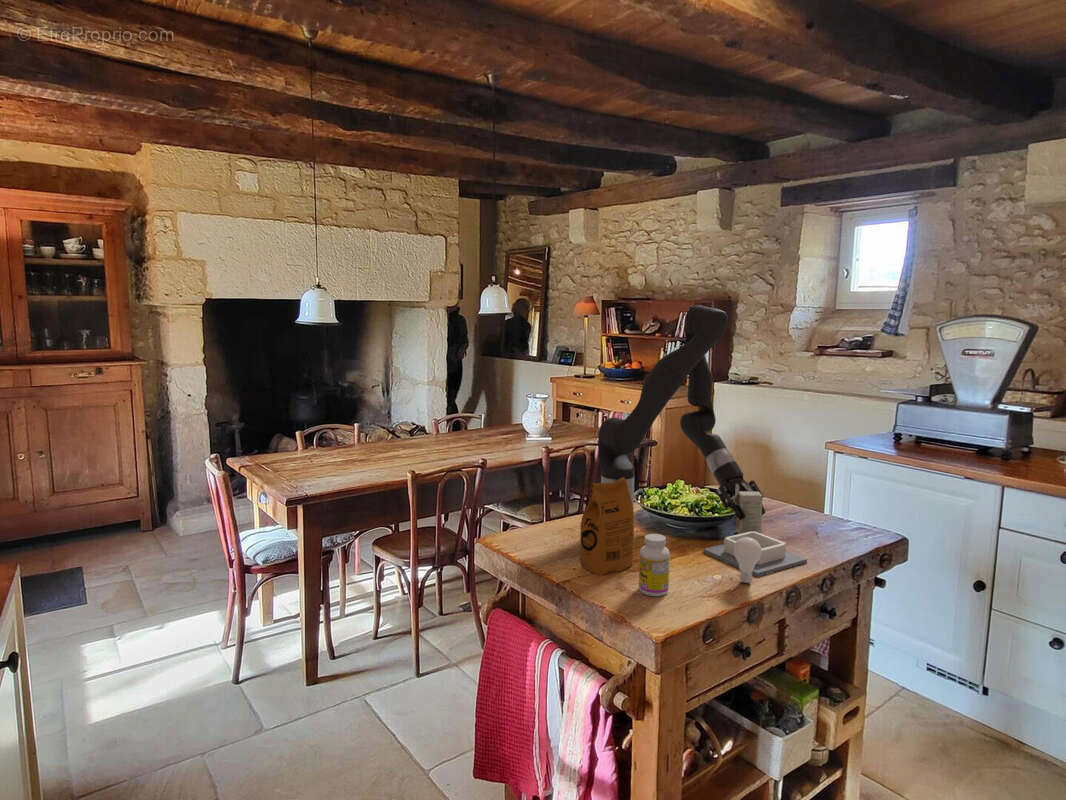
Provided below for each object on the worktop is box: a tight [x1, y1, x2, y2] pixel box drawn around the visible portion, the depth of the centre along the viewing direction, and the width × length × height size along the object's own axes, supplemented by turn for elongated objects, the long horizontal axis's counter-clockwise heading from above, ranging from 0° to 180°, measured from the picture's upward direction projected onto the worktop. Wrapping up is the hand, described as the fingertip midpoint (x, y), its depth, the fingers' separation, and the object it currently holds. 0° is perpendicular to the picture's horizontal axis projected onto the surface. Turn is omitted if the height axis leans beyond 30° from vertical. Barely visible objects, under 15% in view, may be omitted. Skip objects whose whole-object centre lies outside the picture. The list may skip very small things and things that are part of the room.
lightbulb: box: [733, 537, 762, 584], centre depth 153 cm, size 6×6×11 cm
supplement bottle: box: [638, 533, 671, 597], centre depth 149 cm, size 7×7×13 cm
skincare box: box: [735, 491, 763, 535], centre depth 186 cm, size 6×4×12 cm
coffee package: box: [579, 477, 635, 576], centre depth 162 cm, size 10×12×22 cm
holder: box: [703, 531, 808, 577], centre depth 169 cm, size 18×18×4 cm
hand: (753, 516), depth 185 cm, fingers closed on skincare box, 7 cm apart
